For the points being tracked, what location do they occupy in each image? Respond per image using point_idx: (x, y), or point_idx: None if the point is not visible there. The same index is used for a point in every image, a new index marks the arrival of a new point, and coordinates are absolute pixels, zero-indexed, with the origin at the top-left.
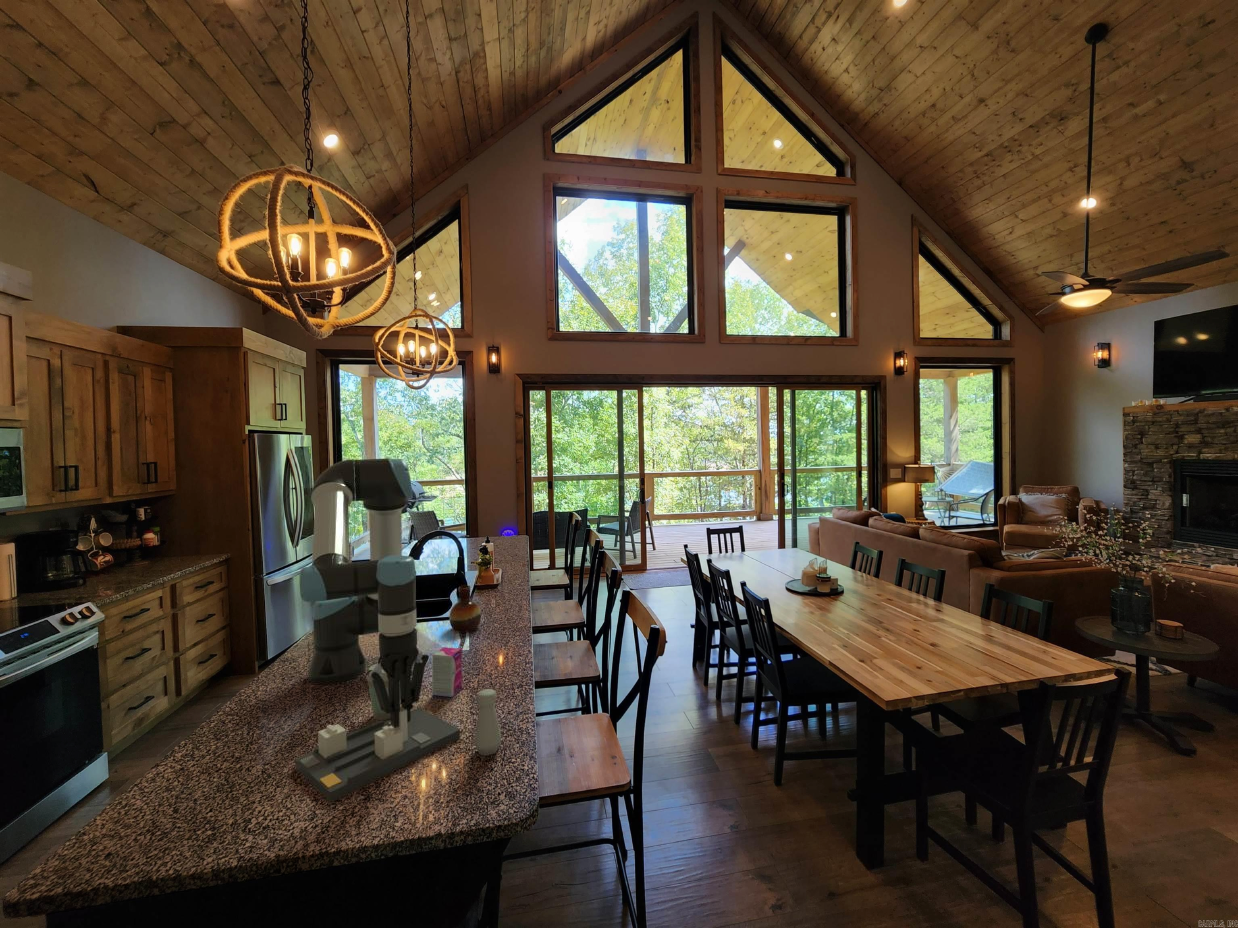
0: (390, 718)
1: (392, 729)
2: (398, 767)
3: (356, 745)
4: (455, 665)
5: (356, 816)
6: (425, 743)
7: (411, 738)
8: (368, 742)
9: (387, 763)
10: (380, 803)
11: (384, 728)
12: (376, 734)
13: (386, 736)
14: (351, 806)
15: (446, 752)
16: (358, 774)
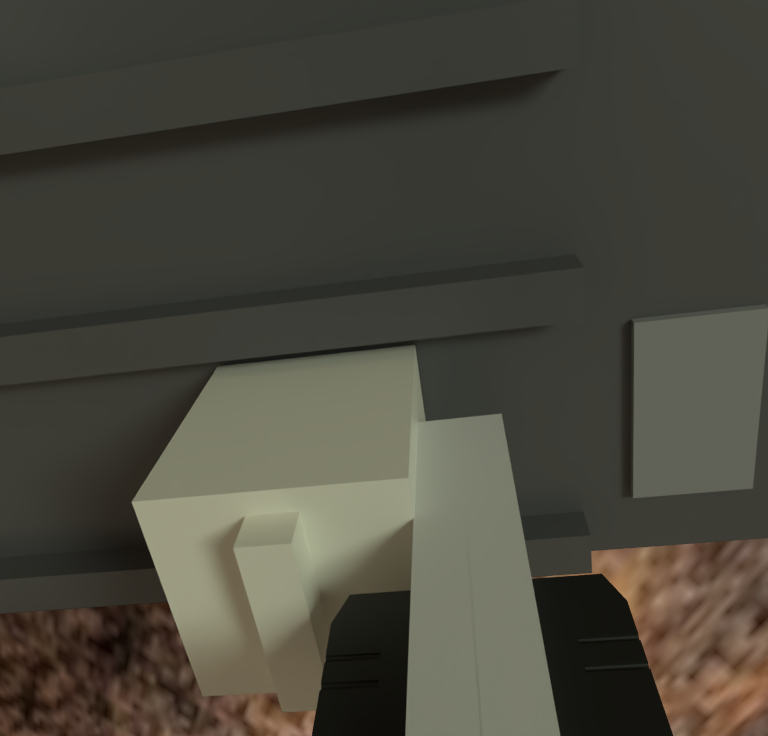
0: (318, 701)
1: (360, 574)
2: None
3: (41, 116)
4: None
5: (44, 732)
6: (665, 508)
7: (625, 329)
8: (188, 124)
9: None
10: (173, 725)
11: (247, 584)
12: (149, 550)
13: (246, 661)
14: (24, 654)
15: (751, 564)
16: (28, 606)
